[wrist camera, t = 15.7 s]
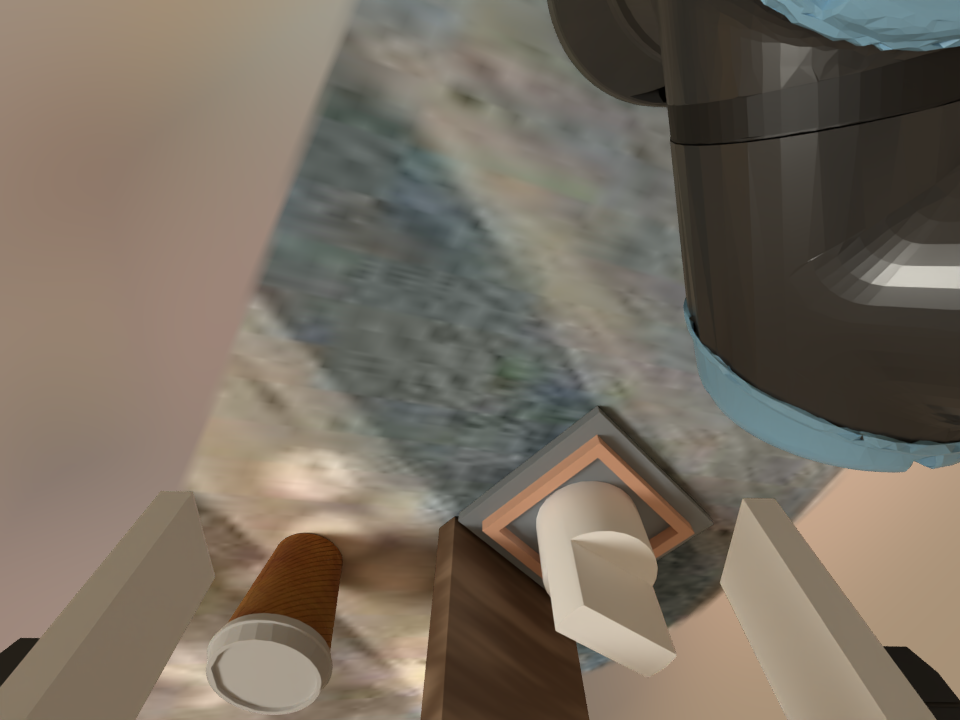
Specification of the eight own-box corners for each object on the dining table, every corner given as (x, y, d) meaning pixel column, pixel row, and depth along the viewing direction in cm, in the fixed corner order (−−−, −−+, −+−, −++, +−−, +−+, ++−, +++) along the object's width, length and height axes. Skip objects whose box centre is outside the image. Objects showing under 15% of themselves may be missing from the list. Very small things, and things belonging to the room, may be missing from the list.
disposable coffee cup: (280, 503, 49) (223, 617, 39) (376, 544, 51) (348, 664, 41) (243, 571, 53) (182, 693, 42) (335, 607, 55) (299, 732, 44)
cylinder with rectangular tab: (659, 512, 48) (710, 632, 38) (592, 574, 52) (622, 701, 41) (580, 463, 46) (610, 575, 35) (515, 531, 49) (525, 653, 38)
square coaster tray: (597, 405, 45) (602, 419, 43) (709, 516, 50) (719, 533, 48) (458, 513, 50) (457, 530, 48) (573, 604, 55) (577, 623, 53)
